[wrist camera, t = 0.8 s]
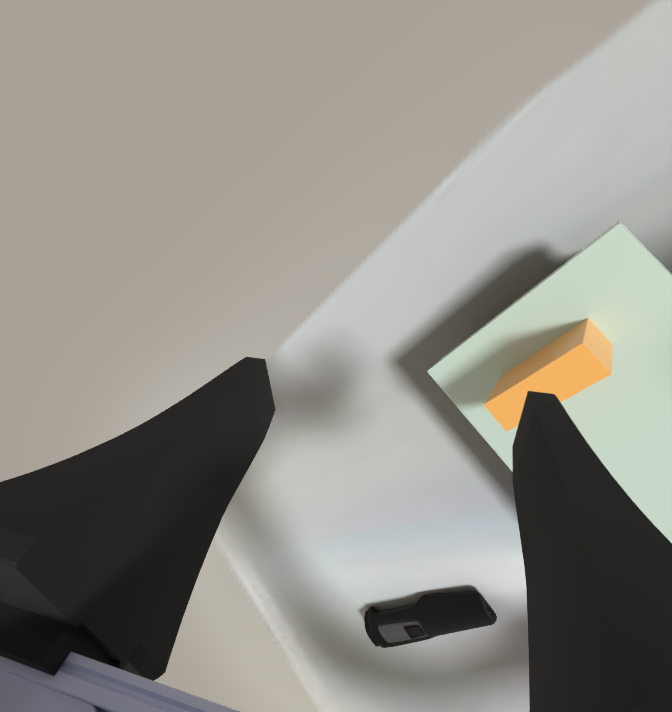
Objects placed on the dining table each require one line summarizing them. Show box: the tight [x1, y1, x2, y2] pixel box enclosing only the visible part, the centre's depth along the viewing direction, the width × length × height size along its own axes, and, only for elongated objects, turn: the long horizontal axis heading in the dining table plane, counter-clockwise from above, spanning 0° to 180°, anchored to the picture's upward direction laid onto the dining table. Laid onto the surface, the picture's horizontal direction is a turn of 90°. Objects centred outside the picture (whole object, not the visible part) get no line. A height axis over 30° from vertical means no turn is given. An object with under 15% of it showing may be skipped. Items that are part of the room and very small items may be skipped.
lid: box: [427, 221, 672, 543], centre depth 19 cm, size 16×12×6 cm
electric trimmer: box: [364, 592, 497, 648], centre depth 38 cm, size 4×16×3 cm, turn 136°
